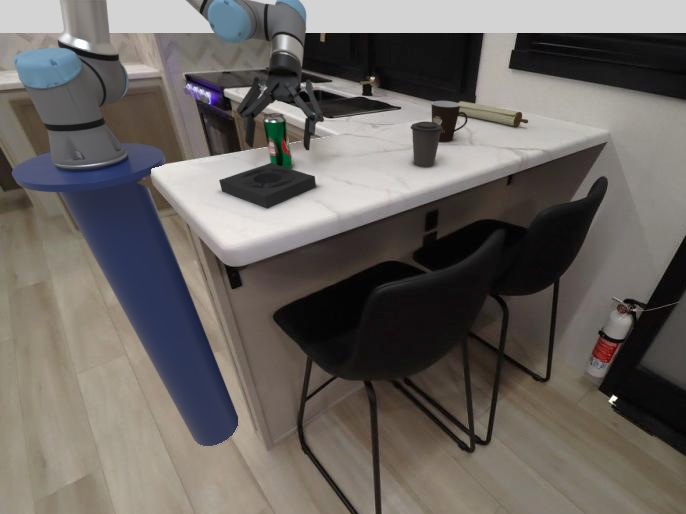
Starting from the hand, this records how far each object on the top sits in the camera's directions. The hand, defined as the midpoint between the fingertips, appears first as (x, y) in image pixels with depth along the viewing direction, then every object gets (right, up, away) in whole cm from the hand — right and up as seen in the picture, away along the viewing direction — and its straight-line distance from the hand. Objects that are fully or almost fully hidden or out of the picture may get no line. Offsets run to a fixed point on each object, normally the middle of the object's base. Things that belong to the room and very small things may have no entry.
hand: (277, 146), depth 89 cm
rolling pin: (+61, +30, +51) cm, 85 cm away
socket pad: (0, -12, -6) cm, 14 cm away
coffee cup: (+35, -1, +10) cm, 37 cm away
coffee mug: (+43, +13, +28) cm, 53 cm away
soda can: (0, -4, +4) cm, 6 cm away
